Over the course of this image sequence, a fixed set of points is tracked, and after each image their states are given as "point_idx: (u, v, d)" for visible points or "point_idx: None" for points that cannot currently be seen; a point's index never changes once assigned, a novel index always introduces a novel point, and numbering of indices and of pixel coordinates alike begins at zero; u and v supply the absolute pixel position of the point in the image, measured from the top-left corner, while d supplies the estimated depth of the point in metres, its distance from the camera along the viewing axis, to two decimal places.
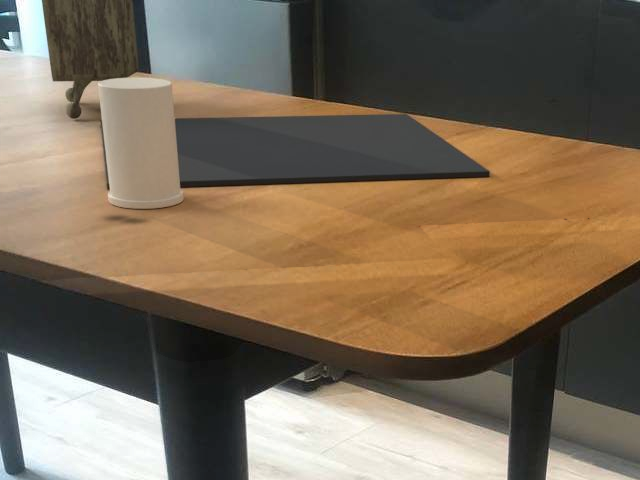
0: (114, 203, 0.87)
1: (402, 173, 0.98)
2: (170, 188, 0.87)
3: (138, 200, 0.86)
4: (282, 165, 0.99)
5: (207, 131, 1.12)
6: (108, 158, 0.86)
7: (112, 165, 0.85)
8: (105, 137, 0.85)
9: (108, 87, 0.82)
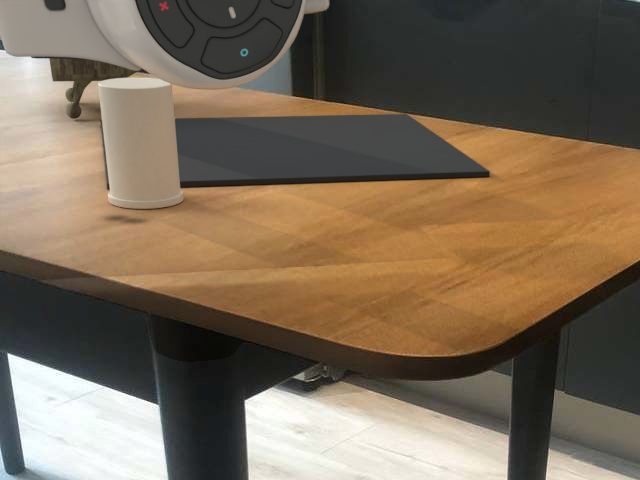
0: (114, 203, 0.87)
1: (402, 173, 0.98)
2: (170, 188, 0.87)
3: (138, 200, 0.86)
4: (282, 165, 0.99)
5: (207, 131, 1.12)
6: (108, 158, 0.86)
7: (112, 165, 0.85)
8: (105, 137, 0.85)
9: (108, 87, 0.82)
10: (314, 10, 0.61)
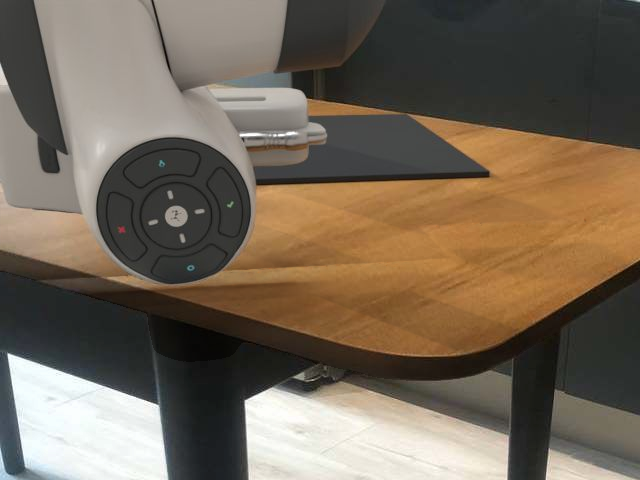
0: None
1: (402, 173, 0.98)
2: None
3: None
4: (282, 165, 0.99)
5: None
6: None
7: None
8: None
9: None
10: (292, 163, 0.67)
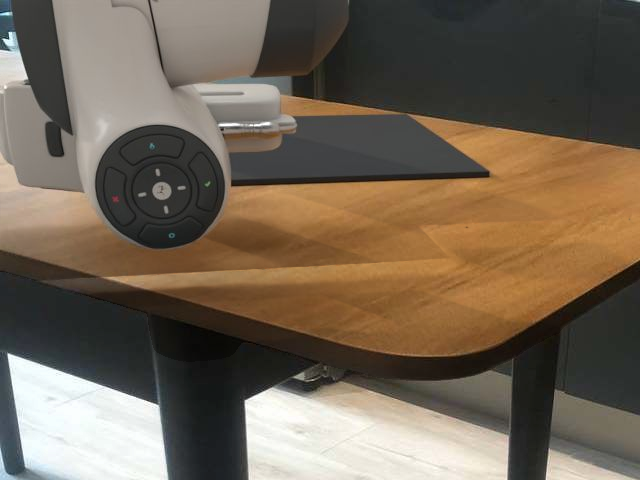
0: None
1: (402, 173, 0.98)
2: None
3: None
4: (282, 165, 0.99)
5: None
6: None
7: None
8: None
9: None
10: (266, 150, 0.76)
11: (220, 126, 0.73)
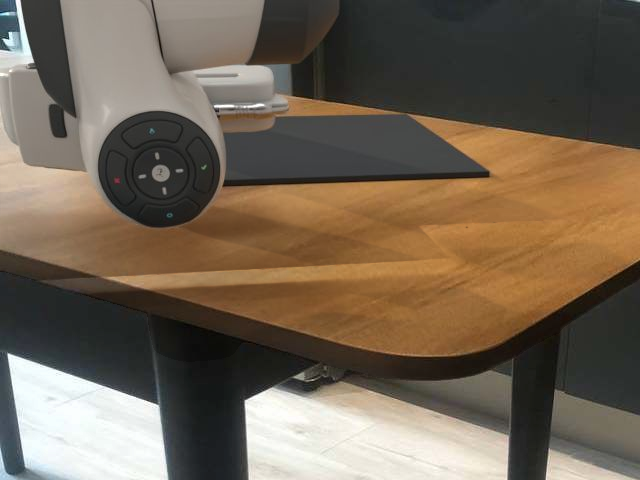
0: None
1: (402, 173, 0.98)
2: None
3: None
4: (282, 165, 0.99)
5: None
6: None
7: None
8: None
9: None
10: (260, 130, 0.80)
11: (216, 108, 0.76)
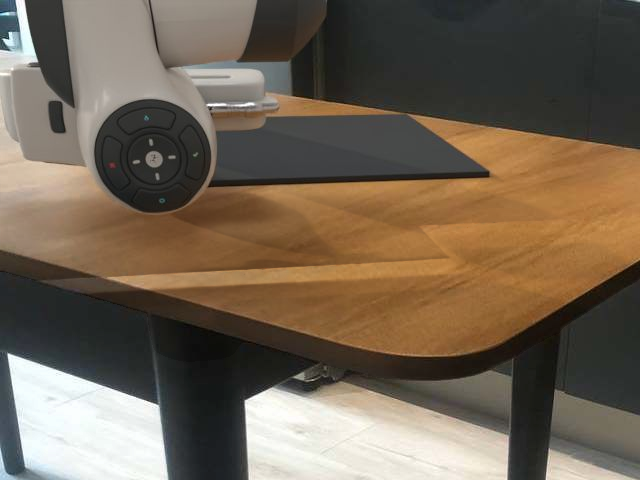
0: None
1: (402, 173, 0.98)
2: None
3: None
4: (282, 165, 0.99)
5: None
6: None
7: None
8: None
9: None
10: (251, 128, 0.83)
11: (208, 106, 0.80)
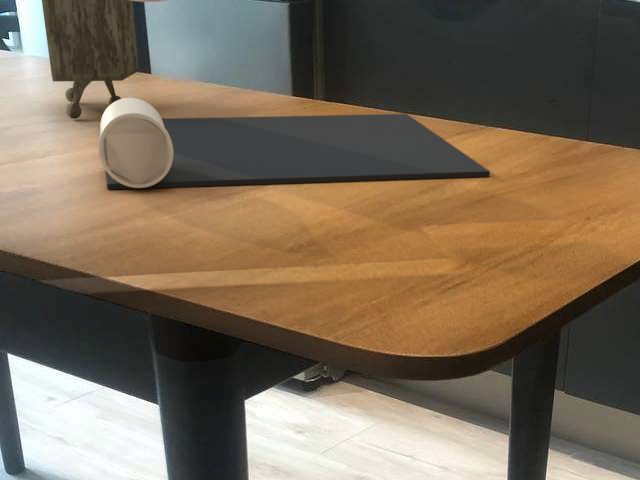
0: (100, 136, 0.88)
1: (402, 173, 0.98)
2: None
3: None
4: (282, 165, 0.99)
5: (207, 131, 1.12)
6: None
7: (102, 129, 0.91)
8: (100, 135, 0.93)
9: (104, 112, 0.96)
10: None
11: None
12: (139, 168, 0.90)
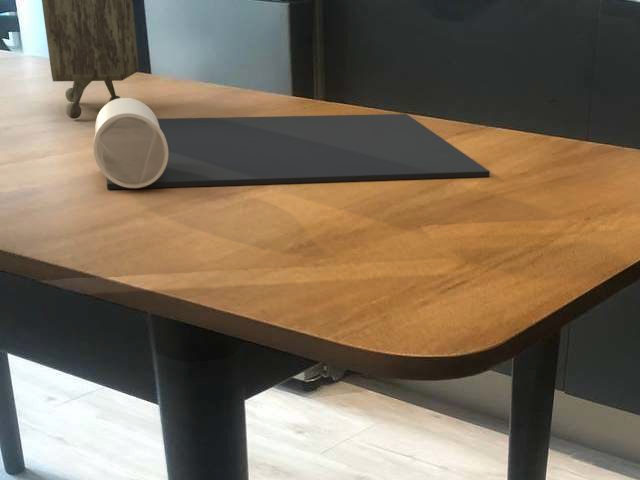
0: None
1: (402, 173, 0.98)
2: None
3: None
4: (282, 165, 0.99)
5: (207, 131, 1.12)
6: None
7: None
8: None
9: (97, 117, 0.96)
10: None
11: None
12: (136, 168, 0.90)
